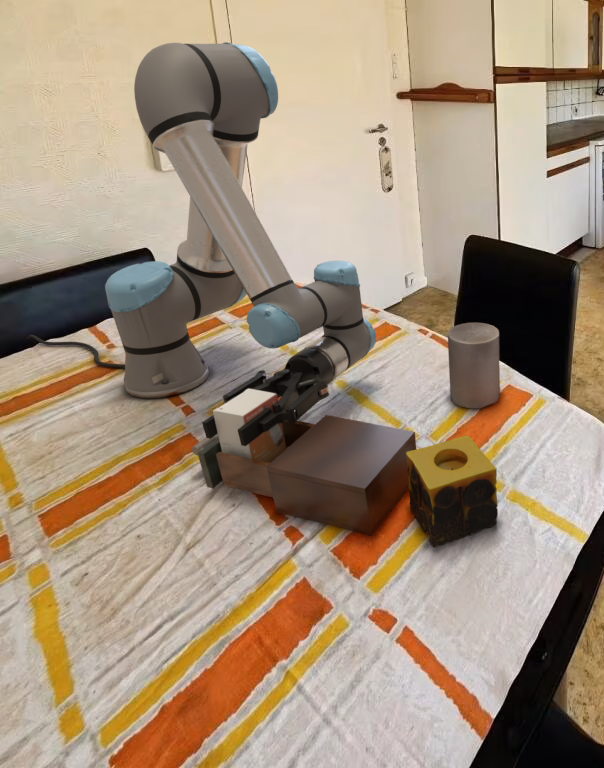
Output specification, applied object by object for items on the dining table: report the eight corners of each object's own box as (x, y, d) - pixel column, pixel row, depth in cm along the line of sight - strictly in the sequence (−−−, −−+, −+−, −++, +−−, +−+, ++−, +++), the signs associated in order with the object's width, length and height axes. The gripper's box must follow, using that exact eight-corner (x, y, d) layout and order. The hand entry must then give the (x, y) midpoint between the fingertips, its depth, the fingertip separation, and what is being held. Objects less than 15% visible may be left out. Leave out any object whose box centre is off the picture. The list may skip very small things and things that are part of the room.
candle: (432, 550, 84) (427, 491, 80) (407, 507, 92) (402, 451, 88) (499, 526, 89) (499, 469, 84) (470, 487, 96) (468, 433, 92)
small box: (255, 477, 94) (242, 416, 90) (224, 470, 96) (210, 410, 91) (288, 450, 101) (277, 392, 97) (259, 444, 103) (248, 387, 98)
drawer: (181, 480, 96) (170, 446, 93) (241, 435, 108) (233, 403, 105) (287, 507, 91) (279, 471, 88) (339, 456, 102) (333, 423, 99)
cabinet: (276, 512, 91) (266, 466, 87) (333, 457, 104) (326, 414, 100) (371, 536, 87) (364, 488, 83) (418, 475, 99) (415, 431, 95)
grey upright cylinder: (456, 383, 126) (452, 314, 119) (503, 386, 125) (503, 317, 118) (445, 407, 118) (441, 334, 111) (496, 411, 117) (495, 337, 110)
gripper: (365, 392, 109) (282, 467, 90) (276, 377, 114) (179, 444, 95) (360, 354, 105) (272, 423, 86) (268, 340, 111) (166, 401, 91)
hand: (223, 434), depth 91 cm, fingers closed on small box, 6 cm apart
